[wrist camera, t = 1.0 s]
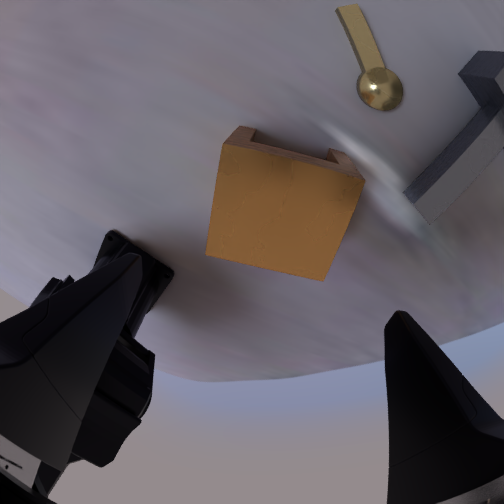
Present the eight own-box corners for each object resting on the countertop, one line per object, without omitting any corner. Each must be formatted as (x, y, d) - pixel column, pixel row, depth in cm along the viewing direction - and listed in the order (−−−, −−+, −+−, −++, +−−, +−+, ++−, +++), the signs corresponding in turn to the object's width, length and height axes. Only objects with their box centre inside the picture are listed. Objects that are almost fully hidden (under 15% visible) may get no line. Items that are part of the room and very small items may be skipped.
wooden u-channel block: (315, 234, 19) (323, 281, 15) (222, 212, 19) (205, 254, 15) (344, 152, 16) (365, 180, 12) (239, 125, 16) (222, 143, 12)
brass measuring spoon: (401, 103, 14) (407, 105, 13) (364, 113, 14) (369, 114, 14) (363, 5, 10) (368, 2, 10) (323, 13, 11) (326, 9, 10)
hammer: (432, 227, 18) (455, 259, 15) (374, 162, 16) (396, 185, 13) (522, 127, 12) (556, 144, 9) (478, 50, 10) (515, 52, 7)
